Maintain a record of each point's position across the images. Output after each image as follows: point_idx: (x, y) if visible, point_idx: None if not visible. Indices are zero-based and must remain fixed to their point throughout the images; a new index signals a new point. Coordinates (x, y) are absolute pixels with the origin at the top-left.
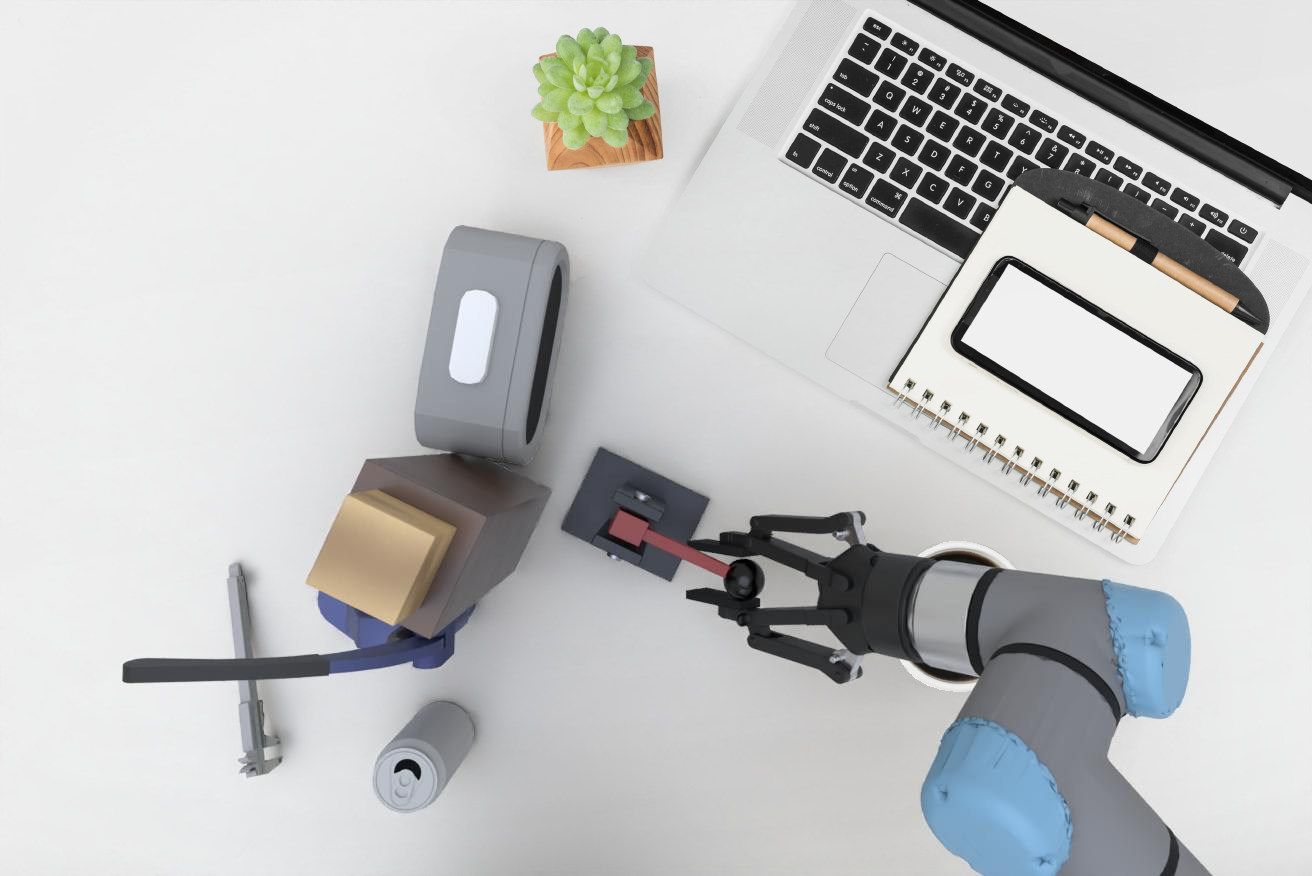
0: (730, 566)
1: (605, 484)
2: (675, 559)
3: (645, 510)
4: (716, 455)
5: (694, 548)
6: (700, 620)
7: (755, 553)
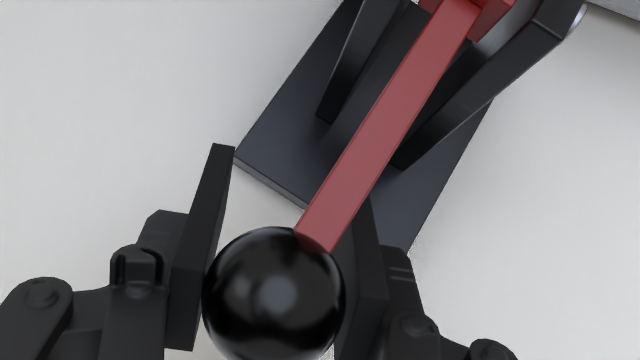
0: (330, 254)
1: None
2: (280, 171)
3: None
4: (476, 293)
5: None
6: (131, 211)
7: (350, 350)
